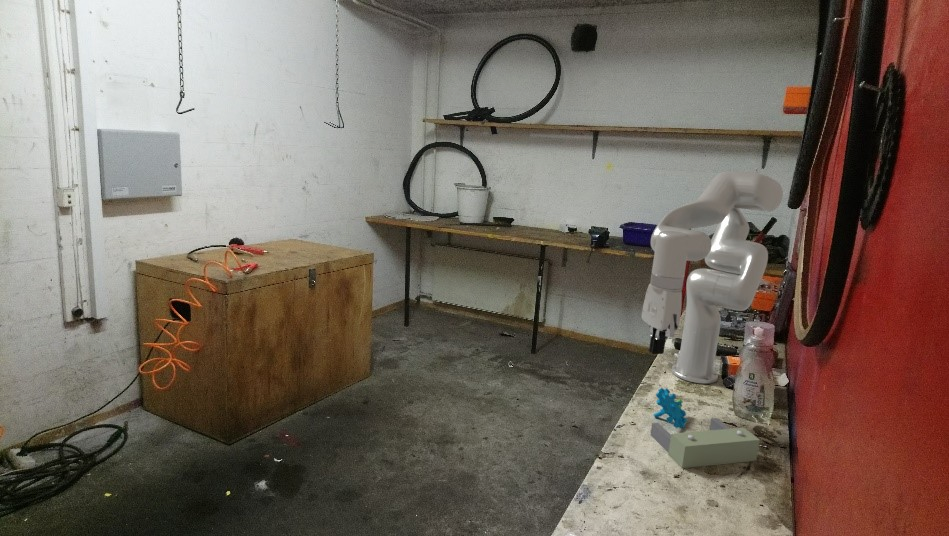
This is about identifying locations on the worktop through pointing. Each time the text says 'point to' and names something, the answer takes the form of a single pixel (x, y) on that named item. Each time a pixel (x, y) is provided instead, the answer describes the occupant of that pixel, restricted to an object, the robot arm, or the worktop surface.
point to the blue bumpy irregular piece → (670, 408)
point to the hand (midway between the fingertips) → (656, 352)
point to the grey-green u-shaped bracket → (708, 445)
